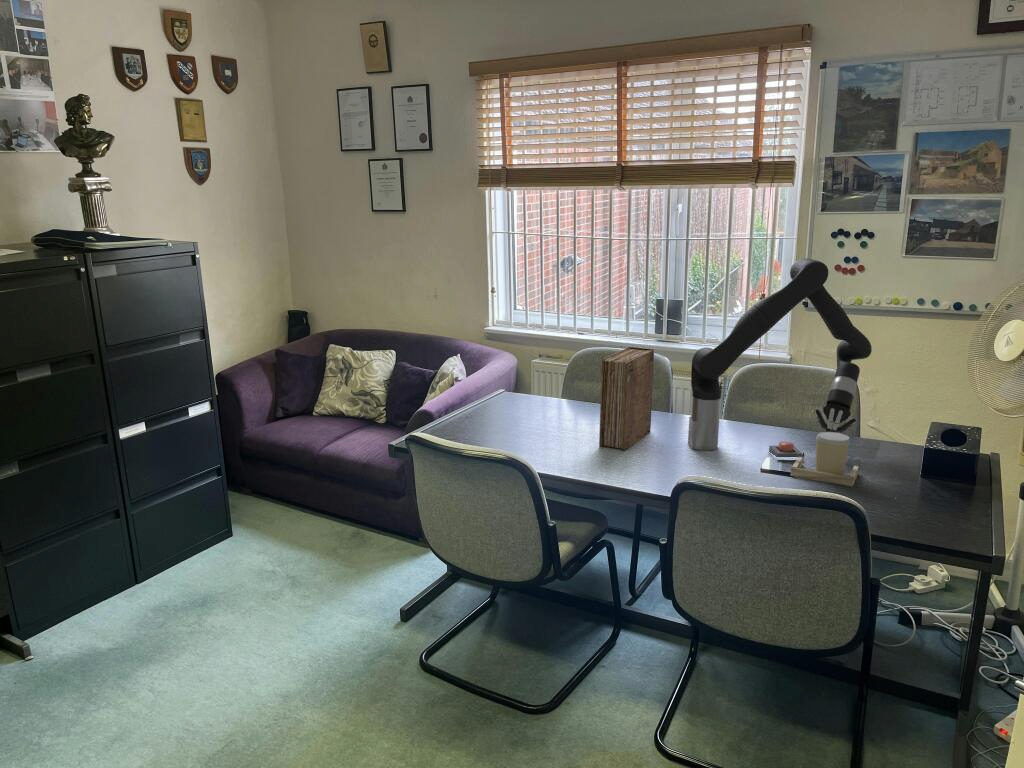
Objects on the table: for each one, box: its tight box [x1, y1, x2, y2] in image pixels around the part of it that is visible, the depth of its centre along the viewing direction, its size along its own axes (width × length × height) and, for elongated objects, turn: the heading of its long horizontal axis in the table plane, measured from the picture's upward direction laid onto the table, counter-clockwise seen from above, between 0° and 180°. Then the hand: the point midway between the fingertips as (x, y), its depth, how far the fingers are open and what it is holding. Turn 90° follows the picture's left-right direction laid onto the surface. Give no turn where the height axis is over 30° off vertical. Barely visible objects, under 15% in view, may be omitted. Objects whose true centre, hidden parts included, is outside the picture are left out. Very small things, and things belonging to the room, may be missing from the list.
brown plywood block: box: [598, 346, 655, 452], centre depth 259 cm, size 25×9×30 cm, turn 151°
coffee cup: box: [815, 431, 851, 475], centre depth 228 cm, size 9×9×12 cm
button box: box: [768, 445, 804, 458], centre depth 245 cm, size 8×8×2 cm
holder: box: [790, 457, 859, 487], centre depth 228 cm, size 12×17×2 cm
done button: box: [778, 441, 795, 452], centre depth 244 cm, size 4×4×3 cm
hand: (828, 441), depth 243 cm, fingers closed
